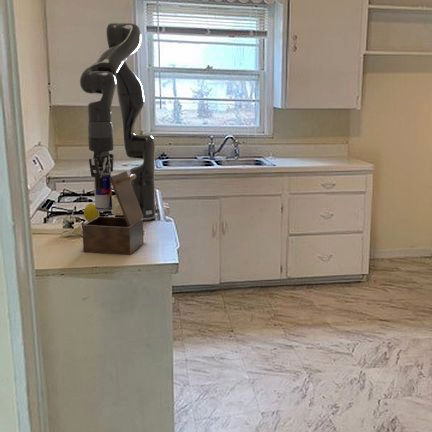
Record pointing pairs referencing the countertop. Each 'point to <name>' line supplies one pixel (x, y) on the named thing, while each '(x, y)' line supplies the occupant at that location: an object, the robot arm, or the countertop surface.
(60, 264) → the countertop surface
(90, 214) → the lemon
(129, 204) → the lid
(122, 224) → the compartment
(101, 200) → the energy drink
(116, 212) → the character mug
